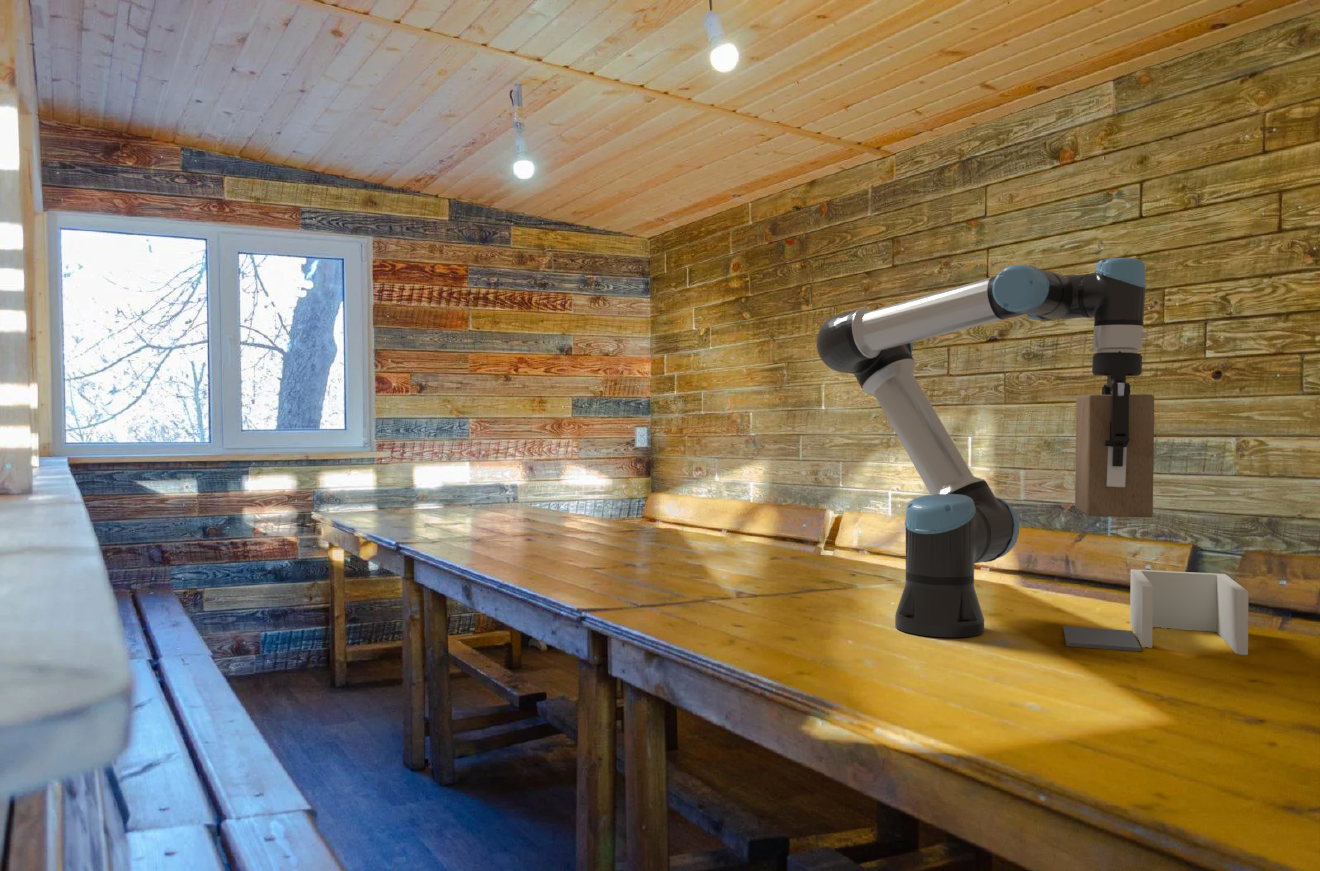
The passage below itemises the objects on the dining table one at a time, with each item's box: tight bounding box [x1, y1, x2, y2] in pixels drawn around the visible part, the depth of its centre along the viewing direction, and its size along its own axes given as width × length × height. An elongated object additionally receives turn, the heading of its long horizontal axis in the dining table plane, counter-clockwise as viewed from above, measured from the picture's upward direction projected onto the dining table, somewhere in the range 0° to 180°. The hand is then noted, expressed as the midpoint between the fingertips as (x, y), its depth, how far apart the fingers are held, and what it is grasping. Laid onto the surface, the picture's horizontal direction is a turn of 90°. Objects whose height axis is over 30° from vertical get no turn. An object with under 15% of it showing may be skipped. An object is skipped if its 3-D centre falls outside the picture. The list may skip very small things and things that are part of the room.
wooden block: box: [1074, 394, 1155, 518], centre depth 164 cm, size 10×10×20 cm
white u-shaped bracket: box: [1129, 568, 1249, 656], centre depth 166 cm, size 15×20×10 cm
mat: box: [1062, 625, 1142, 652], centre depth 164 cm, size 11×14×1 cm
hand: (1111, 484), depth 164 cm, fingers closed on wooden block, 10 cm apart
